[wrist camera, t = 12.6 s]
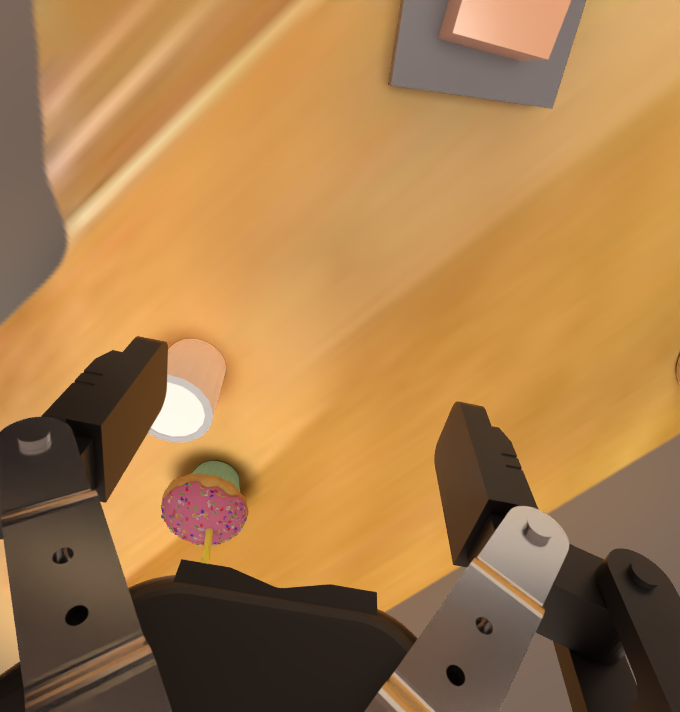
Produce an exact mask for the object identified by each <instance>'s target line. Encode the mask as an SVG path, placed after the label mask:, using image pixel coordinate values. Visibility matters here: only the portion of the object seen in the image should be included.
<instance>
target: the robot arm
mask: <svg viewBox="0 0 680 712" xmlns="http://www.w3.org/2000/svg"><path fill="white" fill-rule="evenodd" d="M167 367H168V345H167V343H166V342H164V341H159V340H154V339H149V338H144V337H139V336H137V337H136V338H135V339H134V340H133V341H132V342H131V343H130V344H129V345H128V347H127V348H126V349H125V350H124V351H123V352H119V351H114V350H112V351H110V352H108V353H106V354H104V355H102V356H100V357H98V358H96V359H95V360H94V361H93V362H92V363H91V364H90V365H89V366H88V367H87V368H86V369H85V370H84V373H81V374H80V376H79V377H78V378H77V379H76V380H75V383H72V384H71V385H70V386H69V387H68V388H67V389H66V390H65V392H64V393H63V394H62V395H61V396H60V397H59V398H58V399H57V400H56V401H55V402H54V403H53V404H52V405H51V406H50V408H49V409H48V410H47V411H46V412H45V413H44V414H43V415H42V416H41V417H32V418H27V419H23V420H20V421H17V422H15V423H13V424H10V425H9V426H7V427H5V428H4V429H3V430H1V431H0V539H3V540H4V547H5V554H6V562H7V569H8V576H9V584H10V591H11V599H12V606H13V613H14V621H15V627H16V636H17V643H18V650H19V658H20V662H18V663H17V664H15V665H14V666H13V667H11V668H10V669H8V670H7V671H5V672H4V673H3V674H1V675H0V712H499V711H500V709H501V707H502V705H503V703H504V700H505V698H506V696H507V694H508V692H509V690H510V687H511V685H512V683H513V681H514V679H515V676H516V674H517V672H518V670H519V668H520V666H521V663H522V661H523V659H524V657H525V654H526V652H527V650H528V648H529V645H530V644H531V641H532V639H533V637H534V635H535V633H536V632H537V633H538V634H540V635H543V636H544V637H546V638H548V639H551V640H553V643H554V646H555V650H556V653H557V657H558V661H559V664H560V668H561V671H562V675H563V678H564V681H565V685H566V689H567V692H568V696H569V699H570V703H571V707H572V710H573V712H680V597H679V595H678V593H677V591H676V589H675V588H674V586H673V584H672V583H671V581H670V579H669V578H668V577H667V575H666V574H665V573H664V572H663V571H662V570H661V569H660V568H659V567H658V566H657V565H656V564H654V563H653V562H652V561H650V560H649V559H647V558H646V557H644V556H643V555H641V554H639V553H636V552H634V551H631V550H628V549H615V550H613V551H611V552H610V553H609V555H608V556H607V557H606V558H605V559H602V558H599V557H597V556H595V555H593V554H590V553H588V552H586V551H584V550H582V549H579V548H577V547H575V546H573V545H571V544H569V541H568V538H567V535H566V534H565V532H564V530H563V529H562V527H561V526H560V525H559V524H558V523H557V522H556V521H555V520H554V519H553V518H552V517H550V516H549V515H547V514H546V513H544V512H542V511H540V510H538V507H537V505H536V502H535V500H534V497H533V495H532V492H531V490H530V487H529V485H528V483H527V480H526V478H525V475H524V473H523V471H522V470H521V465H520V463H519V460H518V459H517V458H516V457H517V455H516V453H515V450H514V448H513V445H512V443H511V441H510V440H509V439H508V438H507V436H506V435H505V434H504V433H503V432H502V431H501V430H500V428H497V427H492V426H491V424H490V421H489V418H488V415H487V413H486V410H485V408H484V407H482V406H477V405H472V404H467V403H463V402H456V403H455V404H454V405H453V407H452V409H451V411H450V414H449V416H448V418H447V421H446V423H445V426H444V428H443V430H442V433H441V435H440V437H439V440H438V442H437V445H436V450H435V468H436V474H437V479H438V485H439V490H440V496H441V501H442V506H443V512H444V517H445V523H446V528H447V534H448V539H449V544H450V550H451V555H452V561H453V565H457V566H463V567H468V568H467V569H466V570H465V572H464V573H463V575H462V576H461V578H460V579H459V580H458V582H457V583H456V585H455V586H454V588H453V589H452V590H451V592H450V593H449V595H448V596H447V598H446V599H445V600H444V602H443V603H442V605H441V606H440V607H439V609H438V610H437V612H436V613H435V615H434V616H433V618H432V619H431V620H430V622H429V623H428V625H427V626H426V628H425V629H424V630H423V632H422V633H421V635H420V636H419V637H418V639H417V638H416V637H415V636H414V634H413V633H412V632H410V631H409V630H408V629H407V628H406V627H405V626H404V625H403V624H401V623H400V622H399V621H397V620H396V619H395V618H393V617H391V616H390V615H388V614H386V613H385V612H383V611H381V610H378V609H377V592H372V591H366V590H360V589H354V588H348V587H342V586H336V585H330V584H329V585H317V586H305V587H293V588H277V587H274V586H271V585H269V584H267V583H264V582H262V581H260V580H258V579H255V578H253V577H251V576H248V575H246V574H244V573H242V572H239V571H237V570H235V569H233V568H230V567H224V566H218V565H212V564H206V563H200V562H194V561H188V560H182V559H181V562H180V565H179V567H178V570H177V573H176V575H172V576H164V577H159V578H154V579H151V580H147V581H144V582H141V583H139V584H136V585H134V586H132V587H129V588H128V586H127V583H126V580H125V577H124V574H123V571H122V568H121V565H120V562H119V558H118V555H117V552H116V549H115V546H114V543H113V540H112V537H111V534H110V531H109V528H108V525H107V521H106V518H105V515H104V512H103V509H102V506H101V503H100V502H107V500H108V498H109V497H110V495H111V493H112V492H113V490H114V488H115V487H116V485H117V483H118V482H119V480H120V478H121V477H122V475H123V473H124V472H125V470H126V468H127V467H128V465H129V463H130V462H131V460H132V458H133V456H134V455H135V453H136V451H137V450H138V448H139V446H140V445H141V443H142V441H143V440H144V438H145V436H146V435H147V433H148V431H149V430H150V428H151V426H152V425H153V423H154V421H155V420H156V418H157V416H158V415H159V413H160V411H161V409H162V407H163V404H164V401H165V397H166V392H167ZM676 375H677V379H678V383H679V384H680V356H679V360H678V363H677V370H676ZM625 654H626V655H627V658H628V660H629V663H630V665H631V668H632V670H633V673H634V675H635V678H636V682H637V685H636V683H635V680H634V678H633V675H632V673H631V670H630V668H629V665H628V663H627V660H626V658H625Z"/></svg>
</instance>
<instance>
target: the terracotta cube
mask: <svg viewBox="0 0 680 712" xmlns="http://www.w3.org/2000/svg"><path fill="white" fill-rule="evenodd" d="M570 2H571V0H448V4H447V8H446V11H445V15H444V18H443V22H442V26H441V29H440V33H439V36H438V39H440V40H444V41H448V42H451V43H455V44H458V45H462V46H466V47H469V48H473V49H476V50H480V51H484V52H487V53H491V54H494V55H498V56H502V57H505V58H509V59H513V60H516V61H534V60H548V59H549V57H550V54H551V51H552V49H553V46H554V44H555V41H556V39H557V36H558V33H559V31H560V28H561V26H562V23H563V20H564V18H565V15H566V13H567V10H568V8H569V5H570Z"/></svg>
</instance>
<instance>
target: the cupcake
mask: <svg viewBox="0 0 680 712" xmlns="http://www.w3.org/2000/svg"><path fill="white" fill-rule="evenodd" d="M161 506H162V507H161V508H162V514H163V515H162V516H163V517H162V516H161V517H162V518H164V522H166V524H167V527H169V529H171V530H172V531H171V530H170V531H171V532H173V533H175V535H178V537H181V538H182V539H185V540H187V541H190V542H191V543H192V544H193V543H195V544H196V545H199V544H202V545H204V548H203V555H202V561H201V563H206V564H209V558H210V550H211V545H213V544H214V545H217V544H219V543H220V544H221V542H222V543H224V542H225V541H229V540H230V539H231V538H232V537H234V536H236V535H237V534H238V533H239V532H240V531H241V530H242V529H243V528H242V527H243V526H244V524H245V521H246V520H247V516H248V508H247V503H246V498H245V497H244V496H243V495H242V494H241V493H240V487H239V476H238V474H237V472H236V471H235V470H234V469H233V468H232V467H231V466H230V465H228V464H226V463H223V462H220V461H207V462H204V463H202V464H200V465H199V466H198V467H197V468H196V469H195V470H194V471H193V472H192V473H191V474H189V475H186V476H183V477H180V478H177V479H175V480H173V481H172V482H171V483H170V485H169V486H168V488H167V489H166V490H165V492H164V494H163V499H162V505H161Z"/></svg>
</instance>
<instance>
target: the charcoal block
mask: <svg viewBox="0 0 680 712" xmlns="http://www.w3.org/2000/svg"><path fill="white" fill-rule="evenodd" d="M585 3H586V0H571V2H570V5H569V8H568V10H567V13H566V15H565V18H564V20H563V23H562V26H561V28H560V31H559V33H558V36H557V39H556V41H555V44H554V46H553V49H552V51H551V54H550V57H549V59H548V60H534V61H516V60H513V59H509V58H505V57H502V56H498V55H494V54H491V53H487V52H484V51H480V50H476V49H473V48H469V47H466V46H462V45H458V44H455V43H451V42H448V41H444V40H440V39H438V36H439V33H440V29H441V26H442V22H443V18H444V15H445V11H446V8H447V4H448V0H401V4H400V11H399V17H398V24H397V31H396V37H395V44H394V50H393V57H392V63H391V70H390V76H389V83H388V85H391V86H398V87H405V88H412V89H419V90H426V91H433V92H440V93H447V94H454V95H461V96H468V97H475V98H482V99H489V100H496V101H503V102H510V103H516V104H523V105H530V106H537V107H544V108H551V109H552V108H553V105H554V101H555V98H556V95H557V92H558V89H559V85H560V82H561V79H562V76H563V73H564V70H565V66H566V63H567V60H568V57H569V54H570V50H571V47H572V44H573V41H574V38H575V34H576V31H577V28H578V25H579V22H580V19H581V15H582V12H583V9H584V6H585Z"/></svg>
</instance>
